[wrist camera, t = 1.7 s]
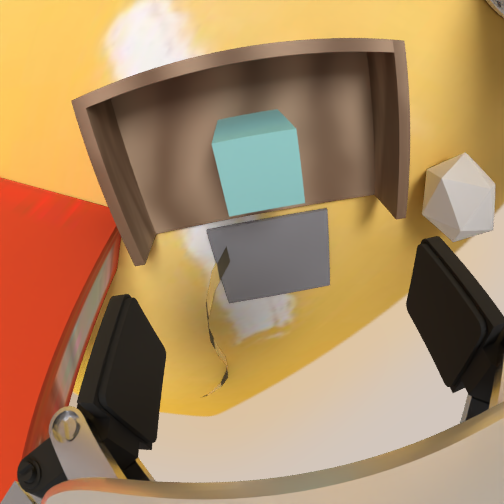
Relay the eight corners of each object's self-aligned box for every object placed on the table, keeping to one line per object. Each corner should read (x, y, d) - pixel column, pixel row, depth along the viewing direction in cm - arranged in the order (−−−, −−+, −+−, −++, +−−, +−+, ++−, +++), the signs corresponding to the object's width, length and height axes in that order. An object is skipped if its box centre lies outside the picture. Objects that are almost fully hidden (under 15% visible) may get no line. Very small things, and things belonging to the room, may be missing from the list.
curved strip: (274, 248, 33) (280, 270, 30) (210, 406, 54) (211, 423, 51) (218, 237, 32) (218, 260, 28) (179, 403, 52) (179, 421, 49)
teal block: (277, 109, 23) (296, 128, 17) (285, 163, 26) (305, 203, 19) (217, 119, 23) (211, 143, 17) (229, 173, 26) (229, 216, 20)
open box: (372, 42, 20) (404, 40, 15) (380, 190, 29) (405, 217, 24) (100, 91, 21) (71, 100, 17) (148, 232, 30) (135, 266, 25)
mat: (326, 208, 29) (327, 209, 29) (328, 282, 35) (329, 285, 35) (206, 229, 30) (206, 231, 30) (229, 300, 36) (229, 303, 36)
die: (398, 211, 31) (459, 271, 26) (412, 163, 23) (492, 236, 19) (436, 173, 31) (493, 225, 27) (453, 124, 24) (524, 184, 19)
